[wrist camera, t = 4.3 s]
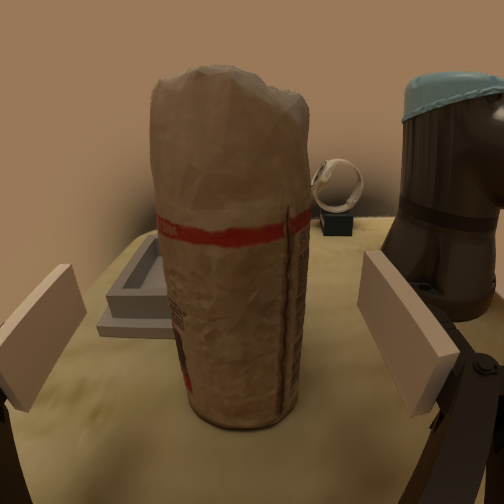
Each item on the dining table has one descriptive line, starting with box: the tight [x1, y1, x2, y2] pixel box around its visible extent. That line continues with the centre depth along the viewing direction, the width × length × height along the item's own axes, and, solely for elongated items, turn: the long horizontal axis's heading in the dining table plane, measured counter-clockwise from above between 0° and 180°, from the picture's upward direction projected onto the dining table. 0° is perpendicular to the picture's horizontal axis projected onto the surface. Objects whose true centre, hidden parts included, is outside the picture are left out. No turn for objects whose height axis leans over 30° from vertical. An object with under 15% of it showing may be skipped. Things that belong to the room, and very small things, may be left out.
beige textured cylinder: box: [150, 65, 311, 429], centre depth 17 cm, size 8×8×20 cm
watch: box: [311, 159, 363, 236], centre depth 46 cm, size 6×8×11 cm
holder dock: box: [96, 235, 175, 339], centre depth 33 cm, size 17×17×4 cm
